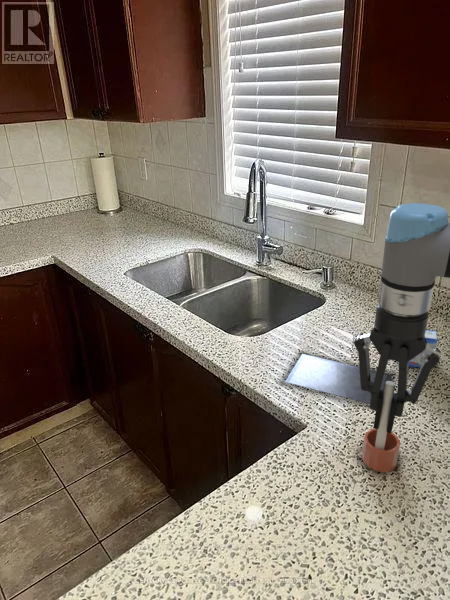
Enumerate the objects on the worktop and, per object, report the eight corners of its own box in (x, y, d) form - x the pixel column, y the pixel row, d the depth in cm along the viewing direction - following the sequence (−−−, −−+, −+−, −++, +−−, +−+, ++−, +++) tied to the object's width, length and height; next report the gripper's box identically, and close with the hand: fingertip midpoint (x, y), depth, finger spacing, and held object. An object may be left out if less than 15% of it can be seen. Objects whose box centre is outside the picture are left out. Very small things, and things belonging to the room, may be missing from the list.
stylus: (383, 455, 80) (396, 382, 75) (381, 460, 79) (395, 386, 74) (374, 452, 81) (386, 379, 76) (372, 457, 80) (384, 384, 75)
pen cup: (397, 458, 84) (402, 433, 81) (392, 481, 79) (397, 456, 76) (365, 448, 86) (368, 424, 84) (358, 470, 82) (361, 445, 79)
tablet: (391, 378, 106) (392, 374, 105) (380, 414, 95) (381, 410, 94) (302, 357, 115) (302, 353, 114) (282, 388, 104) (282, 383, 103)
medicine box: (397, 365, 110) (402, 335, 106) (396, 356, 114) (401, 326, 110) (432, 370, 108) (438, 339, 104) (430, 360, 112) (436, 330, 108)
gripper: (349, 308, 68) (336, 426, 79) (454, 328, 62) (426, 453, 73) (359, 289, 74) (347, 401, 85) (456, 305, 68) (430, 424, 79)
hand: (383, 425), depth 79 cm, fingers closed on stylus, 1 cm apart
